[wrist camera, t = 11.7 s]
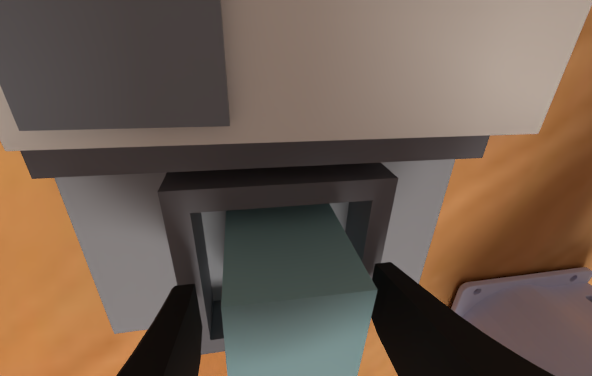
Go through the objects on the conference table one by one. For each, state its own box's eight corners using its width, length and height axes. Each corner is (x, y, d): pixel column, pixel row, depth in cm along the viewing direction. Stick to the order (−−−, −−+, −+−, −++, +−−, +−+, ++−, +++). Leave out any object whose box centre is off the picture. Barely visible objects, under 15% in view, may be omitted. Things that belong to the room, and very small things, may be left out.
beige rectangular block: (442, -44, 9) (667, -128, 4) (415, 93, 11) (551, 137, 6) (75, -75, 7) (-215, -274, 3) (116, 94, 9) (-9, 158, 4)
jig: (516, -131, 9) (630, -198, 6) (406, 280, 17) (437, 325, 14) (-67, -220, 6) (-271, -391, 4) (121, 315, 14) (96, 378, 12)
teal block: (326, 197, 12) (377, 289, 8) (318, 271, 14) (356, 380, 10) (226, 202, 11) (221, 307, 7) (231, 280, 13) (230, 401, 9)
